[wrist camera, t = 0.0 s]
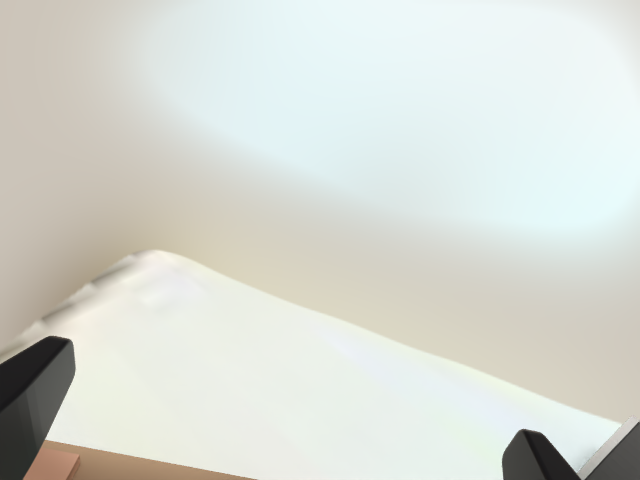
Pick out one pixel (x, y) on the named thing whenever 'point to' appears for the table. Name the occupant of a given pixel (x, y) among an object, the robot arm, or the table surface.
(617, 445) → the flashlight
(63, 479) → the socket board
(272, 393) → the table surface
